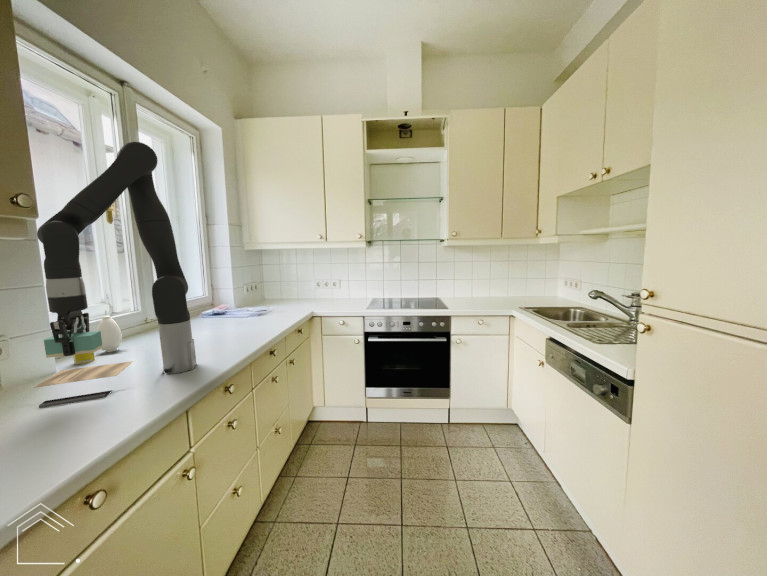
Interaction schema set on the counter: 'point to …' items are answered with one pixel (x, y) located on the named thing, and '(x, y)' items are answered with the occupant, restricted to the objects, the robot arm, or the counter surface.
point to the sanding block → (75, 344)
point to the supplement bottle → (83, 358)
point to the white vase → (109, 334)
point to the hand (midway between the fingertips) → (75, 351)
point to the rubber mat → (74, 399)
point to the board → (85, 374)
